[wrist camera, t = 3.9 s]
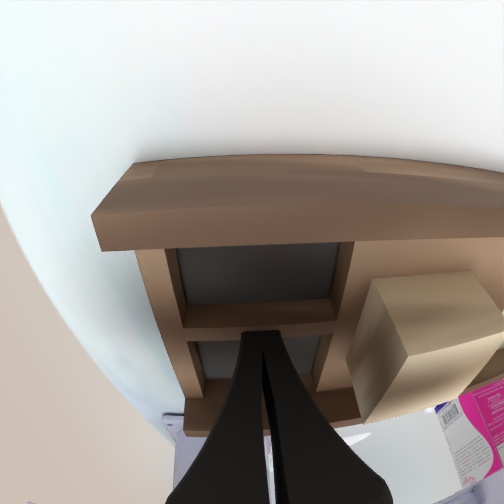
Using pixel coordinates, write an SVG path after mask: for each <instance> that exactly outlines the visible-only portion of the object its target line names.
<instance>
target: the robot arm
mask: <svg viewBox="0 0 504 504" xmlns="http://www.w3.org/2000/svg"><path fill="white" fill-rule="evenodd" d="M262 389H263V395H264V401H265V407H266V412H267V418H268V424H269V429H270V435H271V436H264V435H263V424H262V412H261V406H262ZM183 421H184V416H169V415H165V416H163V417H162V422H163V424H164V425H165V427H166V428H167V430H168V431H169V433H170V434H171V435H172V437H173V438H174V440H175V441H176V446H175V461H174V480H173V491H172V493H171V494H170V495H169V496H168V498H167V501H166V503H165V504H271V491H270V479H269V466H268V454H269V450H270V442H272V454H273V468H274V483H275V498H276V504H393V499H392V495H391V492H390V490H389V488H388V486H387V484H386V482H385V480H384V479H382V478H381V477H380V476H379V475H378V474H376V473H375V472H374V471H373V470H372V469H371V468H370V467H369V466H367V464H365V463H364V462H363V461H362V460H361V459H360V458H359V457H358V456H357V455H356V454H355V453H354V452H353V450H351V448H350V447H349V446H348V445H347V444H346V443H345V442H344V440H343V439H342V438H341V437H340V436H339V435H338V434H337V432H336V431H335V430H334V429H333V427H332V426H331V425H330V423H329V422H328V421H327V419H326V418H325V417H324V415H323V414H322V413H321V411H320V410H319V408H318V407H317V405H316V404H315V402H314V401H313V399H312V398H311V396H310V394H309V393H308V391H307V389H306V388H305V386H304V384H303V382H302V381H301V379H300V377H299V375H298V373H297V371H296V369H295V367H294V365H293V363H292V361H291V359H290V357H289V354H288V352H287V350H286V347H285V345H284V342H283V339H282V336H281V332H280V331H279V330H262V331H244V332H242V333H241V340H240V348H239V353H238V358H237V362H236V366H235V369H234V373H233V376H232V380H231V383H230V386H229V389H228V391H227V394H226V397H225V399H224V402H223V405H222V407H221V410H220V412H219V414H218V416H217V419H216V421H215V423H214V425H213V427H212V429H211V431H210V433H209V435H208V437H186V435H185V433H184V432H183ZM28 504H34V503H32V502H28ZM434 504H504V468H501V469H500V470H498V471H496V472H494V473H493V474H491V475H489V476H488V477H486V478H484V479H482V480H479V481H478V482H476V483H474V484H472V485H470V486H468V487H466V488H464V489H462V490H460V491H458V492H456V493H455V494H454V495H452V496H450V497H448V498H446V499H443V500H441V501H439V502H436V503H434Z"/></svg>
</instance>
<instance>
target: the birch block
mask: <svg viewBox="0 0 504 504" xmlns="http://www.w3.org/2000/svg"><path fill="white" fill-rule="evenodd" d="M503 341H504V316H503V314H502V313H501V311H500V310H499V308H498V307H497V305H496V304H495V302H494V301H493V300H492V298H491V297H490V295H489V294H488V293H487V291H486V290H485V289H484V287H483V286H482V284H481V283H480V282H479V281H478V279H477V278H476V277H475V275H474V274H473V273H472V271H471V270H464V271H454V272H444V273H434V274H423V275H412V276H400V277H388V278H375V279H372V281H371V284H370V288H369V291H368V294H367V298H366V301H365V304H364V307H363V310H362V314H361V317H360V320H359V323H358V326H357V329H356V332H355V334H354V337H353V340H352V343H351V346H350V348H349V351H348V354H347V357H346V363H347V366H348V370H349V373H350V377H351V381H352V384H353V388H354V392H355V395H356V399H357V403H358V407H359V411H360V414H361V418H362V422H363V424H367V423H372V422H377V421H381V420H386V419H390V418H393V417H397V416H401V415H405V414H409V413H413V412H416V411H419V410H423V409H426V408H429V407H433V406H436V405H439V404H442V403H445V402H448V401H451V400H454V399H456V398H457V397H458V396H459V395H460V394H461V393H462V392H463V390H464V389H465V388H466V387H467V386H468V385H469V384H470V383H471V381H472V380H473V379H474V378H475V377H476V376H477V374H478V373H479V372H480V371H481V370H482V368H483V367H484V366H485V365H486V363H487V362H488V361H489V360H490V358H491V357H492V356H493V354H494V353H495V352H496V350H497V349H498V348H499V346H500V345H501V344H502V342H503Z"/></svg>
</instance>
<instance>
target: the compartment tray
mask: <svg viewBox="0 0 504 504" xmlns="http://www.w3.org/2000/svg"><path fill="white" fill-rule="evenodd" d="M91 218H92V222H93V225H94V229H95V232H96V235H97V238H98V241H99V245H100V248H101V251H102V252H105V251H126V250H135V254H136V258H137V261H138V265H139V268H140V272H141V275H142V278H143V282H144V285H145V288H146V292H147V295H148V298H149V301H150V304H151V307H152V310H153V313H154V316H155V319H156V322H157V325H158V328H159V331H160V334H161V337H162V339H163V342H164V345H165V348H166V350H167V353H168V356H169V358H170V361H171V364H172V366H173V369H174V371H175V374H176V376H177V379H178V381H179V384H180V386H181V389H182V391H183V393H184V396H185V408H184V421H183V432H184V433H185V435H186V437H208V435H209V433H210V431H211V429H212V427H213V425H214V423H215V421H216V419H217V416H218V414H219V412H220V410H221V407H222V405H223V402H224V399H225V397H226V394H227V391H228V389H229V386H230V383H231V380H232V376H233V373H234V369H235V366H236V362H237V358H238V353H239V348H240V340H241V333H242V332H244V331H262V330H279V331H280V332H281V336H282V339H283V342H284V345H285V347H286V350H287V352H288V354H289V357H290V359H291V361H292V363H293V365H294V367H295V369H296V371H297V373H298V375H299V377H300V379H301V381H302V382H303V384H304V386H305V388H306V389H307V391H308V393H309V394H310V396H311V398H312V399H313V401H314V402H315V404H316V405H317V407H318V408H319V410H320V411H321V413H322V414H323V415H324V417H325V418H326V419H327V421H328V422H329V423H330V425H331V426H332V427H333V429H334V428H339V427H345V426H351V425H356V424H361V423H363V422H362V418H361V414H360V411H359V407H358V403H357V399H356V395H355V392H354V388H353V384H352V381H351V377H350V373H349V370H348V366H347V363H346V357H347V354H348V351H349V348H350V346H351V343H352V340H353V337H354V334H355V332H356V329H357V326H358V323H359V320H360V317H361V314H362V310H363V307H364V304H365V301H366V298H367V294H368V291H369V288H370V284H371V281H372V279H375V278H388V277H400V276H412V275H423V274H434V273H444V272H454V271H464V270H471V271H472V273H473V274H474V275H475V277H476V278H477V279H478V281H479V282H480V283H481V284H482V286H483V287H484V289H485V290H486V291H487V293H488V294H489V295H490V297H491V298H492V300H493V301H494V302H495V304H496V305H497V307H498V308H499V310H500V311H501V313H502V314H503V316H504V173H499V172H494V171H488V170H482V169H476V168H470V167H463V166H457V165H449V164H442V163H433V162H425V161H415V160H405V159H393V158H381V157H365V156H346V155H314V154H265V155H232V156H212V157H196V158H183V159H171V160H161V161H151V162H142V163H133V164H132V166H131V167H130V168H129V169H128V170H127V171H126V173H125V174H124V175H123V176H122V177H121V178H120V180H119V181H118V182H117V183H116V184H115V186H114V187H113V188H112V189H111V190H110V192H109V193H108V194H107V195H106V197H105V198H104V199H103V200H102V202H101V203H100V204H99V206H98V207H97V208H96V209H95V211H94V212H93V213H92V215H91ZM176 248H177V249H176ZM177 251H178V254H177ZM178 256H179V259H178ZM179 262H180V264H179ZM180 267H181V270H180ZM181 272H182V275H181ZM182 277H183V280H182ZM183 282H184V284H183ZM184 287H185V289H184ZM185 292H186V294H185ZM186 296H187V299H186ZM196 341H197V342H196ZM197 345H198V347H197ZM198 349H199V351H198ZM199 353H200V355H199ZM200 357H201V359H200ZM201 361H202V363H201ZM202 365H203V366H202ZM203 369H204V370H203ZM204 373H205V374H204ZM503 378H504V341H503V342H502V344H501V345H500V346H499V348H498V349H497V350H496V352H495V353H494V354H493V356H492V357H491V358H490V360H489V361H488V362H487V363H486V365H485V366H484V367H483V368H482V370H481V371H480V372H479V373H478V374H477V376H476V377H475V378H474V379H473V380H472V381H471V383H470V384H469V385H468V386H467V387H466V388H465V389H464V390H463V392H462V393H461V394H460V395H459V396H462V395H464V394H467V393H469V392H472V391H475V390H477V389H480V388H482V387H485V386H487V385H489V384H492V383H494V382H496V381H498V380H501V379H503ZM459 396H458V397H459ZM261 412H262V424H263V435H264V436H271V435H270V429H269V424H268V418H267V412H266V407H265V401H264V395H263V389H262V406H261Z"/></svg>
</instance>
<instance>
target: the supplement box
mask: <svg viewBox="0 0 504 504" xmlns="http://www.w3.org/2000/svg"><path fill="white" fill-rule="evenodd" d="M435 412H436V414H437V416H438V419H439V421H440V424H441V426H442V429H443V432H444V434H445V437H446V440H447V442H448V445H449V448H450V451H451V453H452V457H453V460H454V463H455V466H456V469H457V472H458V475H459V478H460V481H461V485H462V488H463V489H464V488H466V487H468V486H470V485H472V484H474V483H476V482H478V481H479V480H482V479H484V478H486V477H488V476H489V475H491V474H493V473H494V472H496V471H498V470H500V469H501V468H504V380H503V379H501V380H498V381H496V382H494V383H492V384H489V385H487V386H485V387H482V388H480V389H477V390H475V391H472V392H469V393H467V394H464V395H462V396H459V397H457V398H456V399H454V400H451V401H448V402H445V403H442V404H440V405H439V406H437V408H435Z"/></svg>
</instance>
